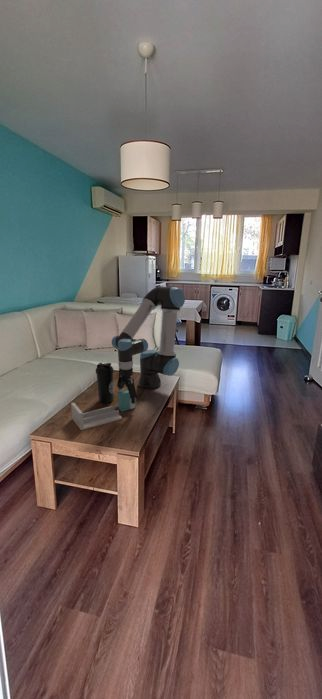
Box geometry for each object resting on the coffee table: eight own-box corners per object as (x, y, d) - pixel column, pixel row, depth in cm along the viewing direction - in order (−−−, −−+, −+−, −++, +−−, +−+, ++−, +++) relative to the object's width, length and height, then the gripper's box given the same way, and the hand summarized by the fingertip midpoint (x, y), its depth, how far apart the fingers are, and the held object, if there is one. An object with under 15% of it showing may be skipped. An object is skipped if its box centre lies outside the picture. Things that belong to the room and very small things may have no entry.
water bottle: (111, 404, 189) (109, 367, 182) (94, 403, 191) (92, 365, 184) (117, 397, 198) (115, 361, 192) (101, 396, 200) (99, 360, 194)
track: (111, 408, 183) (110, 394, 181) (121, 418, 172) (121, 403, 170) (72, 418, 172) (71, 403, 170) (81, 430, 161) (79, 413, 158)
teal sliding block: (133, 405, 188) (132, 389, 185) (135, 407, 185) (135, 391, 182) (118, 409, 183) (117, 392, 181) (121, 411, 181) (120, 394, 178)
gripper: (110, 362, 186) (112, 397, 192) (129, 375, 166) (131, 413, 171) (122, 360, 190) (123, 394, 196) (142, 373, 169) (143, 410, 175)
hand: (127, 403), depth 183 cm, fingers open, 13 cm apart
